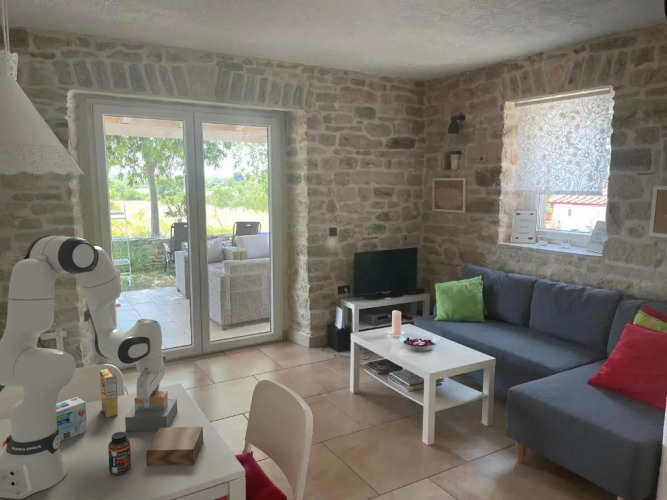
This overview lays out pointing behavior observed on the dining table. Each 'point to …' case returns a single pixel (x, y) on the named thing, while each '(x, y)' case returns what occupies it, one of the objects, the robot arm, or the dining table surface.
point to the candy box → (109, 392)
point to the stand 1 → (151, 418)
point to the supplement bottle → (119, 454)
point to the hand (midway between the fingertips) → (151, 400)
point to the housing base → (151, 407)
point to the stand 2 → (175, 446)
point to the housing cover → (155, 398)
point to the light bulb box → (71, 418)
